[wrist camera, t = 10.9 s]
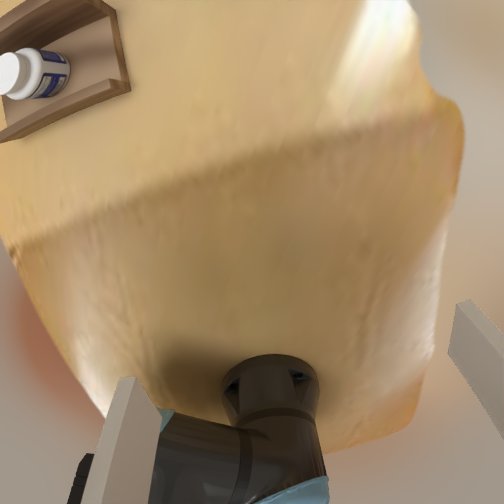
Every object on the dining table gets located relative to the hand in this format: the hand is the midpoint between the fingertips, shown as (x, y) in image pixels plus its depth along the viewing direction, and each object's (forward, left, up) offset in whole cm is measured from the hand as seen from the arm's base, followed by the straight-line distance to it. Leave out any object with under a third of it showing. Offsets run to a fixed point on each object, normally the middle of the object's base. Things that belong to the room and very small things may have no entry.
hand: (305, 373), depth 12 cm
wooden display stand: (+20, +19, -26) cm, 38 cm away
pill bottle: (+20, +19, -24) cm, 37 cm away
